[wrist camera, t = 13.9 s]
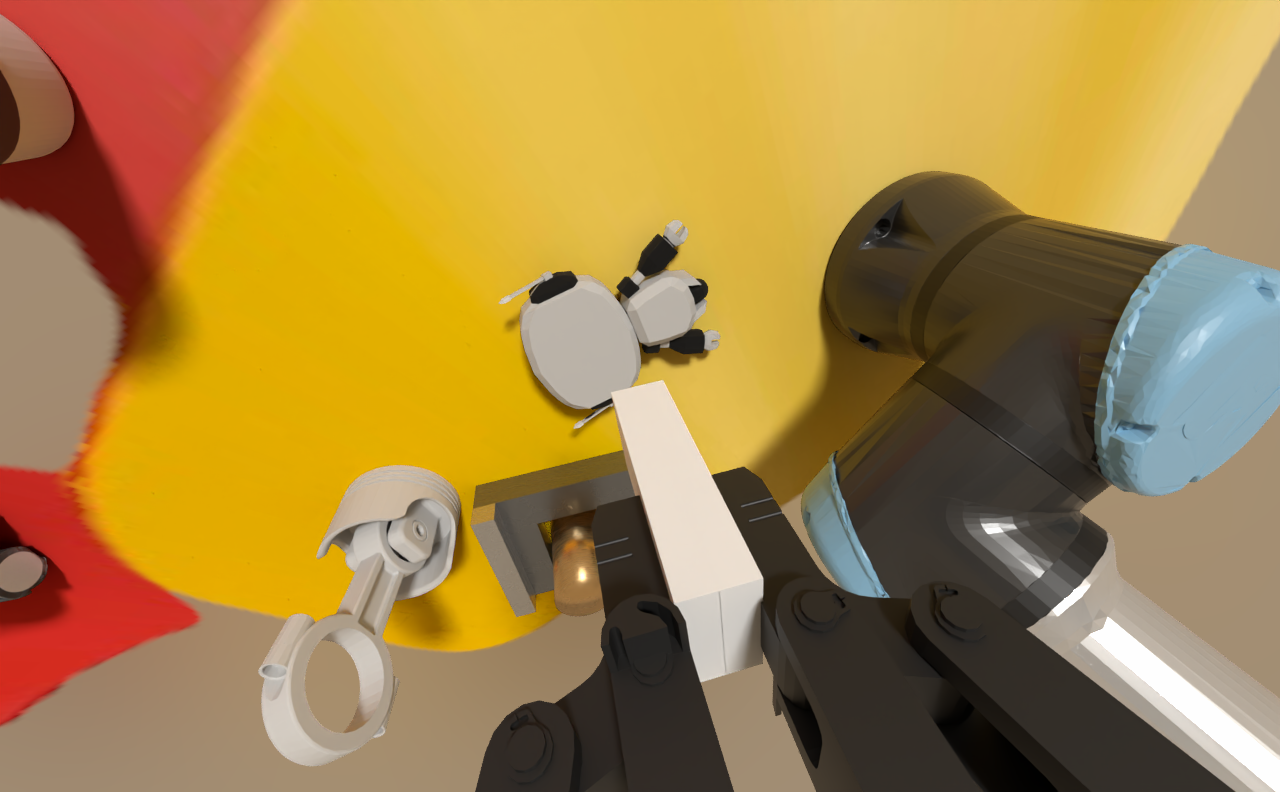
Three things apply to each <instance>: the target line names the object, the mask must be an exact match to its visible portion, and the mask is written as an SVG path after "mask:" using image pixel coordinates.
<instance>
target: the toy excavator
mask: <svg viewBox="0 0 1280 792" xmlns="http://www.w3.org/2000/svg"><path fill="white" fill-rule="evenodd" d="M47 566H48V565H47V562H46V558H45V557H41V556H38V555H36V554H35V553H34V552H32V551H31V550H29V549H28V548H26V547H23V546H20V547H11V548H6V549H1V550H0V602H4V601H9V600H14V599H18V598H21V597H24V596H26V595H29V594H30V593H32V591H31V589H32V588H34V587H36V586H37V585H39V584H40V583H41V582H42V581H43V580H44V578H45V576H46V574H47V570H48V567H47Z"/></svg>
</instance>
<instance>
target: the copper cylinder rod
mask: <svg viewBox="0 0 1280 792" xmlns="http://www.w3.org/2000/svg"><path fill="white" fill-rule="evenodd" d="M595 512H596V509H593V510H589V511H585V512H581V513H577V514H573V515H569V516H565V517H562V518H558V519H554V520H551V537H552V555H553V574H554V593H555V605H556V607H557V609H558V610H559V611H560V612H562V613H564V614H566V615H570V616H585V615H590V614H593V613H595V612H598V611H599V610H601V609H603V608H604V605H603V599H602V592H601V586H600V579H599V573H598V567H597V566H598V565H597V560H596V554H595V547H594V541H593V534H592V528H591V524H592V521H593V518H594V515H595Z"/></svg>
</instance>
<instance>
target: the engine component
mask: <svg viewBox="0 0 1280 792" xmlns="http://www.w3.org/2000/svg"><path fill="white" fill-rule="evenodd" d="M460 511H461V502H460V498H459V495H458V493H457V492H456V490H455V488H454V487H453V486H452V485H451V484H450V483H449V482H448V481H447V480H446V479H444V478H443V477H441V476H439V475H438V474H436V473H434V472H432V471H429V470H426V469H423V468H419V467H414V466H404V465H396V466H386V467H381V468H376V469H374V470H371V471H369V472H366V473H364V474H363V475H361V476H360V477H358V478H357V479H356V480H355V481H354V482H353V483H352V484H351V485H350V486H349V487H348V489H347V491H346V493H345V495H344V497H343V499H342V502H341V503H340V506H339V508H338V510H337V512H336V514H335V516H334V518H333V520H332V522H331V524H330V526H329V529H328V531H327V533H326V535H325V537H324V539H323V541H322V543H321V545H320V548H319V550H318V553H317V559H320V558H321V557H323V556H325V555H326V554H327V552H328V550H329V547H330V545H331V544H335V545H337V546H338V547H340V548H341V549H342V550H343V551H344V552H345V553H346V564H347V566H348V567H349V568H350V569H351V570H353V571H354V572H355V575H354V577H353V579H352V581H351V583H350V586H349V588H348V590H347V592H346V594H345V596H344V598H343V600H342V602H341V605H340V607H339V609H338V611H337V613H336V614H335V615H331V616H328V617H325V618H323V619H321V620H319V621H317V622H314V619H313V618H312V617H310V616H309V615H305V614H294V615H292V616H290V617H289V618H288V620H287V621H286V623H285V625H284V626H283V628H282V630H281V632H280V633H279V635H278V637H277V638H276V640H275V642H274V644H273V645H272V647H271V649H270V651H269V653H268V655H267V657H266V658H265V660H264V662H263V663H262V665H261V667H260V669H259V671H258V672H259V674H260V675H261V676H262V677H263V678H265V680H264V685H263V689H262V700H261V703H262V716H263V721H264V725H265V728H266V731H267V733H268V736H269V738H270V739H271V741H272V743H273V744H274V746H275V747H276V749H277V750H278V751H279V752H280V753H281V754H282V755H283V756H284V757H286V758H288V759H289V760H290V761H293V762H295V763H297V764H301V765H307V766H319V765H324V764H327V763H329V762H332V761H334V760H336V759H338V758H340V757H342V756H345V755H346V754H349V753H351V752H353V751H355V750H357V749H359V748H361V747H362V746H363V745H364V744H366V743H367V742H368V741H369V740H370V739H371V738H376V737H379V736H382V735H383V734H384V733H385V731H386V728H387V724H388V721H389V717H390V714H391V710H392V707H393V703H394V699H395V696H396V693H397V689H398V686H399V682H400V681H399V679H398V678H397V677H395V676H393V668H392V662H391V657H390V654H389V651H388V648H387V646H386V644H385V642H384V640H383V638H382V635H383V632H384V629H385V626H386V623H387V621H388V618H389V615H390V612H391V609H392V607H393V604H394V601H397V600H404V599H408V598H413V597H416V596H419V595H422V594H424V593H426V592H428V591H430V590H432V589H433V588H435V587H436V586H438V585H439V584H440V583H441V582H442V581H443V580H444V579H445V578H446V576H447V575H448V573H449V571H450V569H451V565H452V559H453V553H454V547H455V541H456V535H457V528H458V522H459V517H460ZM320 640H327V641H332V642H335V643H337V644H339V645H340V646H342V647H343V648H344V649H346V650H347V651H348V653H349V654H350V655H351V657H352V658H353V660H354V662H355V664H356V667H357V670H358V673H359V679H360V696H359V703H358V707H357V710H356V713H355V715H354V718H353V720H352V721H351V723H350V725H349V726H348V728H347V729H346V730H345V731H344V732H343V733H337V732H332V731H330V730H328V729H327V728H325V727H323V726H322V725H321V724H320V723H319V722H318V721H317V720H316V718H315V717H314V715H313V714H312V712H311V710H310V707H309V704H308V702H307V699H306V693H305V674H306V669H307V664H308V661H309V658H310V656H311V653H312V652H313V650H314V648H315V647H316V645H317V644H318V643H319V641H320Z"/></svg>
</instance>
